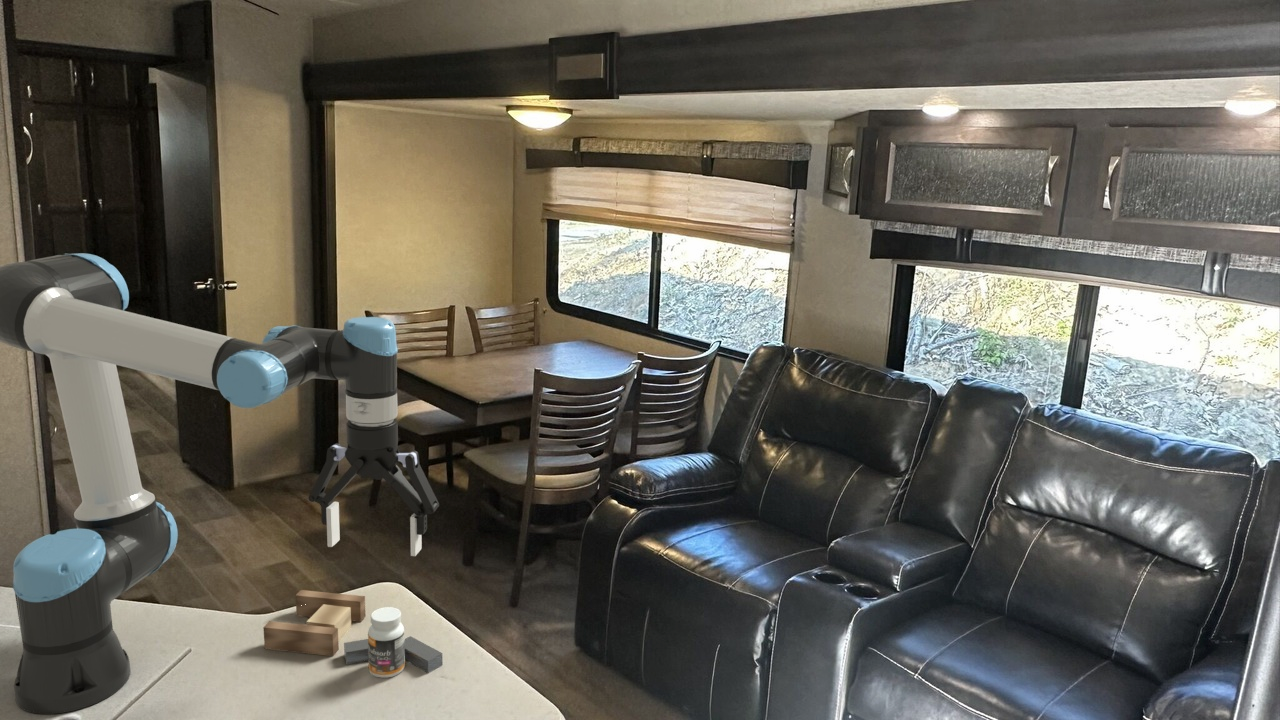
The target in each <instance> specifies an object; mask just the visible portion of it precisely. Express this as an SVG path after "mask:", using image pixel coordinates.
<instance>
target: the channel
mask: <svg viewBox="0 0 1280 720" xmlns="http://www.w3.org/2000/svg"><path fill="white" fill-rule="evenodd" d="M305 604H306V605H305ZM323 604H325V605H334V606H343V607H351V622H355V623H357V622H358V623H362V622H363V620H364V619H365V618H366V596H365V595H356V594H346V593H334V592H327V591H326V592H324V591H315V590H306V589H300V590H299V591H298V592H297V593H296V594H295V608H296V609H295V613H296V616H297V617H307V618H311V617H312V616H313V615H314V614H315V613H316V612H317V610H318V609H319V608H320V607H321V606H322V605H323ZM301 605H302V606H301ZM262 628H263V639H264V640H263V642H264V649H265V650H272V651H273V650H274V651H282V652H292V653H299V654H300V653H301V654H311V655H319V656H328V657H334V656H335V655H336V654H337V653H338V651H339V642H338V628H331V627H322V626H312V625H307V624H302V623H301V624H300V623H291V622H290V623H289V622H279V621H270V620H269V621H267V623H266V624H265V625H264V626H263V627H262Z"/></svg>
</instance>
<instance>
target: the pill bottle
mask: <svg viewBox="0 0 1280 720" xmlns="http://www.w3.org/2000/svg"><path fill="white" fill-rule="evenodd" d="M370 623H371V626H370V627H368V631H367V639H368V655H369V656H368V657H369V660H368V671H369V672H370V674H371V675H372V676H374V677H377V678H381V679H387V678H391V677H395V676H397V675H399V674H400V673H402V672H403V671H404V669H405V665H406V664H405V663H406V660H405V639H406V638H405V627H404V625H403V623H402V611H401V610H400V609H398V608H396V607H391V606H385V607H380V608H377V609H375V610H374V611H373V612H372V613H371V614H370Z"/></svg>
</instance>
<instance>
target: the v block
mask: <svg viewBox="0 0 1280 720" xmlns="http://www.w3.org/2000/svg"><path fill="white" fill-rule="evenodd" d="M343 650H344V653H343V654H344V659H345V660H344V661H345V664H346V665H350V664H351V665H352V664H357V663H360V662H369V657H368V656H369V655H368V638H364V639H359V640H353V641H347V642H343ZM405 662H407V663H409V664H411V665H413V666H414V667H417V668H418V669H420V670H422V671H424V672H426V673H427V674H429V673H431V672H432V671H435V670H436V669H438V668H440V667H442V666H443V662H444V661H443V652H441V651H439V650H437V649H436V648H434V647H431V646H430V645H428V644H427V643H424V642H422V641H420V640H419V639H416V638H415V637H413V636H411V635H410V636H408V637H406V638H405Z"/></svg>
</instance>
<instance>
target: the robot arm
mask: <svg viewBox="0 0 1280 720" xmlns="http://www.w3.org/2000/svg"><path fill="white" fill-rule="evenodd" d="M129 301H130V292H129V289H128V285H127V282H126V280H125V278H124V277H123V275H122V274H121V273H120V271H119V270H118V269H117V267H115V266H114V265H113V264H111V263H109V262H108V261H107V260H106V259H104V258H103V257H100V256H98V255H95V254H91V253H79V252H78V253H63V254H57V255H53V256H47V257H42V258H36V259H31V260H26V261H17V262H12V263H11V262H10V263H6V264H4V265H2V266H0V343H2V344H5V345H7V346H11V347H12V348H13V347H14V348H17V349H19V350H22V351H23V350H24V351H29V352H32V353H36V354H41V355H45V356H47V357H48V359H49V361H50V366H51V372H52V374H53V379H54V384H55V388H56V392H57V396H58V401H59V405H60V411H61V414H62V419H63V423H64V427H65V431H66V437H67V441H68V444H69V445H68V446H69V448H70V449H69V451H70V452H71V453H70V454H71V457H72V461H73V466H74V470H75V476H76V479H77V480H76V481H77V485H78V489H79V493H80V496H81V497H80V498H81V501H82V502H81V503H80V504H79V506H78V507H77V508H76V510H75V511H74V513H73V517H74V520H75V525H76V528H68V529H64V530H58V531H57V532H56V533H54V534H52V533H51V534H46V535H44V536H41V537H39V538H36V539H35V540H33V541H32V542H30V543H29V544H27V545H26V546H24V547H23V548H22V550H20V551H19V552H18V554H17V555H16V557H15V559H14V561H13V565H12V566H13V567H12V569H13V570H12V571H13V579H12V589H13V591H14V596H15V602H16V608H17V615H18V616H17V617H18V622H19V623H18V624H19V629H20V635H21V636H20V637H21V641H22V642H21V643H22V652H21V653H22V654H21V657H20V660H19V664H18V665H19V666H18V668H17V672H16V677H15V680H14V684H13V690H14V698H15V703H16V704H17V706H18V707H19V708H21V709H22V710H24V711H27V712H29V713H31V714H32V713H33V714H38V715H39V714H43V715H51V714H61V713H68V712H72V711H77V710H80V709H84V708H87V707H90V706H92V705H95V704H97V703H100V702H101V701H104V700H106V699H108V698H109V697H111V696H113V695H114V694H115V693H117V692H118V691H119V690H121V689H122V688H123V687H124V686H125V684H127V682H128V680H129V679H130V676H131V673H132V672H131V662H130V657H129V654H128V652H126V650H125V649H124V648H123V647H122V644H121V641H120V639H119V638H118V636H117V634H116V632H115V629H114V626H113V617H112V607H111V603H112V601H114V600H115V599H117V598H118V597H120V596H121V595H123V593H125V592H126V591H128V590H129V589H131V588H132V587H134V586H135V585H136V584H138V583H139V582H140V581H142V580H144V579H145V578H146V577H149V576H151V575H153V574H154V573H155V572H156V571H158V570H159V569H160V567H161V566H163V564H165V562H167V561H168V560H169V559H170V557H172V555H173V553H174V551H175V549H176V547H177V543H178V537H179V535H178V532H179V531H178V526H177V523H176V520H175V517H174V515H172V513H171V512H170V511H167V510H166V507H165V506H164V505H163V504H161V502H158V501H157V500H156V497H155V494H154V493H152V492H150V491H148V490H146V489H144V487H143V485H142V480H141V476H140V473H139V466H138V463H137V457H136V452H135V447H134V444H133V439H132V434H131V429H130V424H129V419H128V415H127V410H126V406H125V405H126V404H125V400H124V396H123V391H122V388H121V387H122V386H121V381H120V377H119V373H118V368H117V366H119V367H123V368H128V369H132V370H136V371H140V372H144V373H147V374H152V375H156V376H159V377H160V376H161V377H164V378H168V379H173V380H177V381H180V382H185V383H188V384H193V385H197V386H201V387H205V388H209V389H212V390H216V391H219V392H220V394H221V396H223V398H224V399H225V400H226V401H228V402H229V403H231V405H233V406H235V407H237V408H242V409H252V408H257V407H259V406H262V405H266V404H269V403H271V402H273V401H275V400H276V399H278V398H279V397H281V396H282V395H285V394H286V393H287V392H290V391H291V390H293V389H295V388H297V387H299V386H300V385H302V384H304V383H306V382H308V381H310V380H312V379H321V380H330V381H331V380H332V381H344V386H345V387H344V388H345V410H346V411H345V412H346V413H345V415H346V419H347V420H348V421H347V422H346V428H345V429H346V443H347V447H345V446H342V445H341V444H340V442H339V443H338V442H336V443H334V444H333V445H331V446H330V447H329V448H327V451H326V458H325V463H324V465H323V467H322V469H321V471H320V473H319V475H318V476H317V479H316V481H315V483H314V484H313V487H312V489H311V491H310V493H309V495H308V501H309V502H311V503H317V504H319V506H320V513H321V524H322V525H325V526H326V536H327V537H326V539H327V540H326V541H327V547H328V548H333V547H334V546H335V545H336V544H337V543H338V542H339V541H340V540H341V539H340V538H341V535H340V533H341V532H340V529H341V528H340V505H339V503H340V502H339V501H334V500H335V499H336V498H337V496H338V495H339V494H341V492H342V491H343V490H344V489H345V488H346V486H348V485H349V483H351V481H352V480H353V479H354V478H355V477H356V476H357V475H358V476H359V477H360V479H374V480H376V481H377V480H378V481H380V480H382V479H383V480H384V481H385V482H386V483H387V484H388V485H390V486H391V487H392V488H393V489H394V490H395V492H396V493H397V494H398V495H399V496H400V498H401V499H402V500H403V501H404V502H405V504H406V505H407V506H408V508H409V509H410V510H411V512H412V514H411V516H410V517H409V522H410V523H409V524H410V525H409V526H410V527H409V529H410V532H409V533H410V557H416V556H417V555H418V554H419V553H420V551H422V546H423V545H422V544H423V543H422V540H423V539H422V536H423V535H424V534H425V533H426V532H427V529H428V515H432V514H434V513H435V512H436V510H437V509H438V508H439V507H440V503H439V501H438V498H437V496H436V495H435V493H434V490H433V489H432V486H431V484H430V482H429V479H428V478H427V477H426V474H425V472H424V470H423V469H422V467H421V464H420V455H419V452H418V451H416V450H412V451H410V452H400V450H399V447H398V444H399V428H398V426H399V423H398V420H397V419H396V418H397V417H398V415H399V413H398V412H399V410H398V409H399V408H398V407H399V406H398V350H399V349H398V346H397V345H398V344H397V333H396V325H395V324H394V323H393V321H392V320H389V319H387V318H384V317H379V316H378V317H377V316H357V317H352V318H349V319H348V320H346V321H344V324H343V329H342V330H339V329H327V328H313V327H303V326H299V325H291V326H284V325H282V326H281V325H279V326H278V325H277V326H275V327H272V328H270V329H269V330H268V332H267V334H266V335H265V336H264V338H263V340H262V343H257V342H252V341H248V340H243V339H240V338H236V337H234V336H233V337H232V336H228V335H224V334H219V333H216V332H212V331H208V330H203V329H200V328H197V327H196V328H195V327H191V326H187V325H183V324H180V323H179V324H178V323H175V322H173V321H172V322H171V321H167V320H163V319H159V318H154V317H152V316H151V317H150V316H148V315H147V316H146V315H143V314H138V313H135V312H131V311H126V309H127V308H128V306H129ZM344 458H345V459H346V461H348V464H349V465H350V467H349V468H348V469H347V471H346V472H344V473H343V475H342V476H341V477H340V478H339V479H338V480H337V482H336V483H335V484H334V485H333V486H332V487H331V488H330V490H329V491H328V492H327V493H325V491H326V488H327V487H328V484H329V483H330V480H331V478H332V477H333V475H334V473H335V471H336V469H337V466H338V465H339V462H340V461H341V460H342V459H344ZM399 463H401V464H402V467H403V468H405V469H406V473H407V474H408V477H409V479H410V480H411V483H412V485H411V483H410V482H409V481H408V480H407V478H406V477H405V475H403V471H402V469H401V468H400V467H399V466H398V464H399Z"/></svg>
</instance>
